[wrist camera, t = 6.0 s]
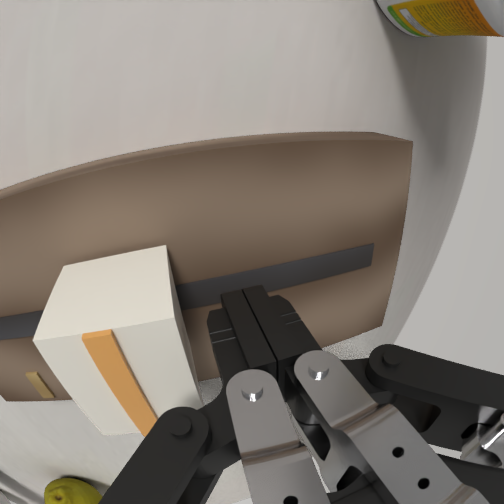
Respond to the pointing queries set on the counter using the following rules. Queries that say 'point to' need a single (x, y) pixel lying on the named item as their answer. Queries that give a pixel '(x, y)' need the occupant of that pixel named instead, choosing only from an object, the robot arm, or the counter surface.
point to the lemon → (71, 492)
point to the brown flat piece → (212, 234)
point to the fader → (120, 341)
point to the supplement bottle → (446, 17)
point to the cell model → (3, 499)
